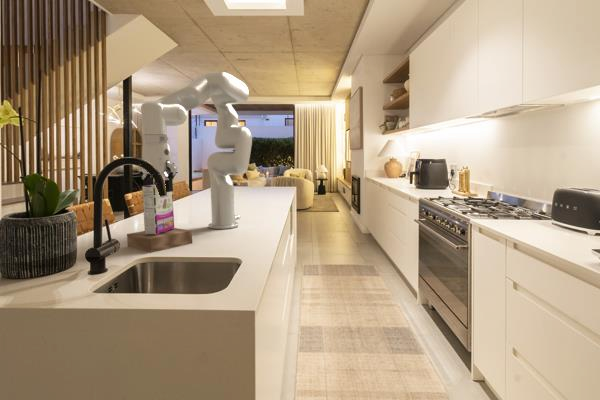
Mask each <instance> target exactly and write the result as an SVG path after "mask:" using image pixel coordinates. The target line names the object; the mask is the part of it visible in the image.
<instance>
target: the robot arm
mask: <svg viewBox="0 0 600 400" xmlns="http://www.w3.org/2000/svg"><path fill="white" fill-rule="evenodd" d="M249 91H250V90H249V88H248V86H247V85H246V83H244V82H243V81H242V80H240V79H239V78H238V77H235V76H234V75H232V74H230V73H228V72H224V71H217V72H207V73H203V74H200V76H198V77H197V78H195V79H194V80H192V81H191V83H189V84H187V85H186V86H184V87H183V88H180V89H178V90H175V91H174V92H171V93H169V94H167V95H164V96H163V97H160V98H158V100H155V102H152V101H151V102H150V101H149V102H148V101H147V102H144V103H142V104H141V105H140V113H141V128H142V142H143V144H142V152H141V154H142V155H141V160H142V159H143V160H146V161H148V162H150V163H151V164H152V165H153V166H154V167H155V168H156V169H157V170H158V171H159V172H160V173H161V174H160V175H162V177H163V178H164V180H163V182H164V181H165V184H166V185H165V186H166V192H172V193H173V192H174V186H173V185H174V184H173V183H174V182H173V180H174V179H175V176H177V170H178V166H177V165H176V164H174V163H173V156H172V151H171V147H170V145H169V144H168V139H169V138H168V137H167V127H168V126H169V127H175V126H177V127H178V126H181V125H182V124H184V123H185V122H186V121H187V118H188V112H187V111H191V110H195V109H198V108H199V107H201V106H202V105H203V104H204V103H205V102H206V101H208V100H209V99H211V101H212V104H213V105H214V108H216V111H217V124H216V130H215V131H216V132H215V137H214V144H215V146H216V148H217V149H219V150H223V151H216V152H212V153H211V154H210V155H208V158H207V161H206V166H207V171H208V174H209V182H210V203H211V205H210V207H211V208H210V209H211V211H210V212H211V222H210V223H208V228H209V229H214V230H225V229H227V230H229V229H234V228H237V227H239V223H238V222H236V221H237V220H240V219H241V215H239V214H235V191H234V189H235V187H234V182H233V180H232V178H231V176H242V175H244V174H246V173H247V171H248V168H249V164H250V158H251V152H252V146H253V136H252V133H251V131H250V129H248V128H247V127H245V126H239V115H238V113H237V111H236V110H235V107H233V105H237V104H239V105H240V104H244V103H246V102H248V99H249V97H250V92H249ZM229 150H231V151H229ZM232 150H233V151H232ZM137 170H138V172H139V175H140V176H141V179H142V180H143V181H142V182H143V186H147V185H153V179H152V176H151V175H150V173H149V172H147V171H146V170H145V169H143V168H141V167H139V165H138V166H137Z"/></svg>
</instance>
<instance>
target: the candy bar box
mask: <svg viewBox="0 0 600 400" xmlns="http://www.w3.org/2000/svg"><path fill="white" fill-rule="evenodd" d="M155 184H156V183H154V184H152V185H147V186H144V185H141V189H142V191H141V192H142V207H143V221H144V222H143V225H144V231H145V234H146V235H158V234H161V233H164V232H167V231H170V230H173V229H174V228H175V214H174V198H173V191H172V192H167V196H165V197H160V195H159V192H158V190H157V188H156V185H155Z"/></svg>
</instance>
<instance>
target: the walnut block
mask: <svg viewBox="0 0 600 400" xmlns="http://www.w3.org/2000/svg"><path fill="white" fill-rule="evenodd" d="M126 239H127V240H126V242H127V247H128V248H131V249H136V250H139V251H144V252H149V253H155V252H156V253H157V252H160V251H164V250H169V249H174V248H178V247H182V246H187V245H191V244H193V231H192V230H190V229H184V228H183V229H182V228H177V227H174V229H173V230H170V231H167V232H164V233H161V234H158V235H146V234H145V230H142V231H136V232H131V233H126Z"/></svg>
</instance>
